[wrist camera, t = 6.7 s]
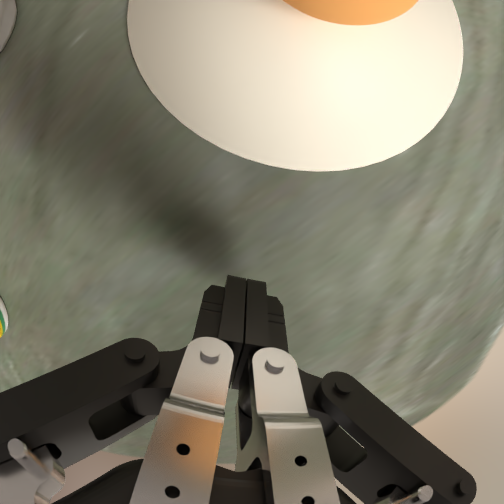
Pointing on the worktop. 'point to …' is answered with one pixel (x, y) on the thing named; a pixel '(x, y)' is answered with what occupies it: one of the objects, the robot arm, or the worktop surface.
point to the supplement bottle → (3, 318)
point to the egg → (353, 10)
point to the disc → (298, 77)
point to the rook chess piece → (7, 20)
